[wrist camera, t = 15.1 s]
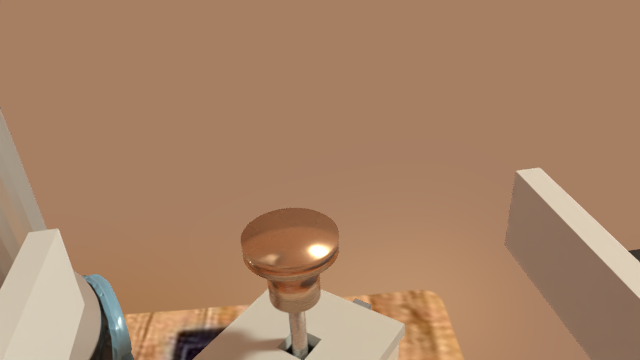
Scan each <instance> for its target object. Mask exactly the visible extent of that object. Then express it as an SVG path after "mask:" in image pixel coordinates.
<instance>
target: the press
mask: <svg viewBox="0 0 640 360" xmlns="http://www.w3.org/2000/svg"><path fill="white" fill-rule="evenodd" d="M320 290H321V296H320V299H319V301H318V303H317V304H316V305H315V306H314V307H312V308H311V309H309V310H307V311H305V317H306V330H307V342H308V356H307V357H306V358H305V360H398V350H399V342H400V341H401V339H402V338H403V336H404V329H405V324H404V323H401V322H399V321H396V320H394V319H391V318H389V317H387V316H384V315H382V314H379V313H377V312H375V311H372V310H371V305H370V304H368V303H366V302H363V301H361V300H358V299H356V298H355V300H354V301H353V302H350V301H348V300H346V299H343V298H341V297H338V296H336V295H334V294H331V293H329V292H326V291H324V290H322V289H320ZM193 360H301V359H299V358H297V357H295V356H293V354H292V344H291V334H290V324H289V314H288V313H286V312H282V311H280V310H278V309H276V308H275V307H274V306H273V305H272V304H271V302H270V297H269V289H267V290H266V291H265V292H264V293H263V294H262V295H261V296H260V297H259V298H258V299H257V300H256V301H255V302H254V303H252V304H251V305H250V306H249V307H248V308H247V309H246V310H245V311H244V312H243V313H242V314H241V315H240V316H239V317H238V318H236V319H235V320H234V321H233V322H232V323H231V324H230V325H229V326H228V327H227V328H226V329H225V330H224V331H223V332H222V333H220V334H219V335H218V336H217V337H216V338H215V339H214V340H213V341H212V342H211V343H210V344H209V345H208V346H207V347H206V348H205V349H203V350H202V351H201V352H200V353H199V354H198V355H197V356H196V357H195V358H194V359H193Z"/></svg>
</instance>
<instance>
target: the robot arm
mask: <svg viewBox="0 0 640 360" xmlns="http://www.w3.org/2000/svg"><path fill="white" fill-rule="evenodd" d="M505 246H506V247H507V249H508V250H509V251H510V253H511V254H512V255H513V257H514V258H515V259H516V261H517V262H518V263H519V265H520V266H521V267H522V269H523V270H524V271H525V273H526V274H527V275H528V277H529V278H530V279H531V281H532V282H533V283H534V285H535V286H536V287H537V288H538V290H539V291H540V293H541V294H542V295H543V296H544V298H545V299H546V301H547V302H548V303H549V305H550V306H551V307H552V308H553V310H554V311H555V312H556V314H557V315H558V316H559V318H560V319H561V320H562V322H563V323H564V324H565V326H566V327H567V328H568V330H569V331H570V332H571V334H572V335H573V336H574V338H575V339H576V340H577V342H578V343H579V344H580V346H581V347H582V348H583V350H584V351H585V352H586V354H587V355H588V356H589V358H590V359H591V360H640V249H638V250H631V251H627V250H626V249H625V248H624V247H623V246H622V245H621V244H620V243H619V242H618V241H617V240H616V239H615V238H614V237H612V235H610V234H609V233H608V232H607V231H606V230H605V229H604V228H603V227H602V226H601V225H600V224H599V223H598V222H597V221H596V220H595V219H593V218H592V217H591V216H590V215H589V214H588V213H587V212H586V211H585V210H584V209H583V208H582V207H581V206H580V205H579V204H578V203H577V202H576V201H574V200H573V199H572V198H571V197H570V196H569V195H568V194H567V193H566V192H565V191H564V190H563V189H562V188H561V187H560V186H559V185H557V184H556V183H555V182H554V181H553V180H552V179H551V178H550V177H549V176H548V175H547V174H546V173H545V172H544V171H543V170H542V169H541V168H534V169H526V170H519V171H516V173H515V180H514V186H513V193H512V199H511V206H510V213H509V219H508V226H507V232H506V239H505ZM131 350H132V348H131V341H130V337H129V333H128V329H127V326H126V323H125V319H124V316H123V313H122V310H121V308H120V305H119V302H118V300H117V298H116V295H115V293H114V291H113V289H112V287H111V285H110V284H109V282H108V281H107V280H106V279H105V278H103V277H102V276H100V275H97V274H93V275H88V276H80V275H79V274H78V273H77V272H75V271H73V269H72V267H71V264H70V261H69V258H68V255H67V252H66V249H65V247H64V244H63V241H62V238H61V235H60V232H59V229H52V230H47V228H46V226H45V223H44V220H43V218H42V215H41V212H40V210H39V207H38V205H37V202H36V199H35V197H34V194H33V192H32V189H31V186H30V184H29V181H28V179H27V176H26V173H25V171H24V168H23V166H22V163H21V160H20V158H19V155H18V153H17V150H16V147H15V145H14V142H13V139H12V137H11V134H10V132H9V129H8V126H7V124H6V121H5V119H4V116H3V113H2V111H1V108H0V360H134V358H133V355H132V353H131Z"/></svg>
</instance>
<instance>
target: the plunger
mask: <svg viewBox="0 0 640 360" xmlns="http://www.w3.org/2000/svg"><path fill="white" fill-rule="evenodd" d="M241 247H242V253H243V259H244V262H245V264H246V266H247V267H248V268H249V269H250V270H251V271H252V272H254V273H255V274H257V275H259V276H261V277H264V278H266V279H267V281H268V289H269V297H270V302H271V304H272V305H273V306H274V307H275V308H276V309H278V310H280V311H282V312H286V313H288V314H289V324H290V334H291V344H292V354H293V356H295V357H297V358H299V359H301V360H305V358H306V357H307V356H308V342H307V330H306V317H305V311H307V310H309V309H311V308H312V307H314V306H315V305H316V304H317V303H318V301H319V299H320V296H321V290H320V273H321V272H323V271H325V270H326V269H328V267H330V266H331V265H332V264H333V263H334V261H335V260H336V258H337V256H338V253H339V235H338V228H337V226H336V224H335V223H334V222H333V220H332V219H330V218H329V217H328V216H326V215H324V214H322V213H320V212H317V211H314V210H310V209H303V208H286V209H279V210H275V211H271V212H268V213H266V214H263V215H261V216H259V217H257V218H256V219H254V220H253V221H252V222H250V223H249V224H248V225H247V226H246V228H245V229H244V231H243V233H242V236H241Z"/></svg>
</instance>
